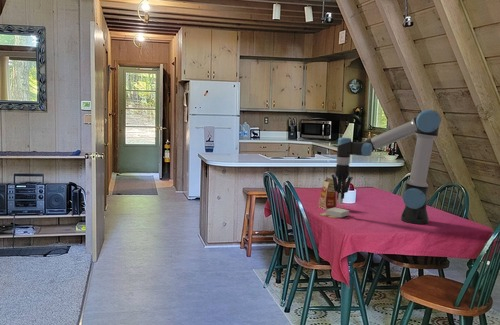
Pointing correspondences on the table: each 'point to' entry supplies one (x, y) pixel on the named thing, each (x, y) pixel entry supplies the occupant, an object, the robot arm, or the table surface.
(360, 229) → the table surface
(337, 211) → the tile
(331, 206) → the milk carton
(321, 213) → the cork mat
